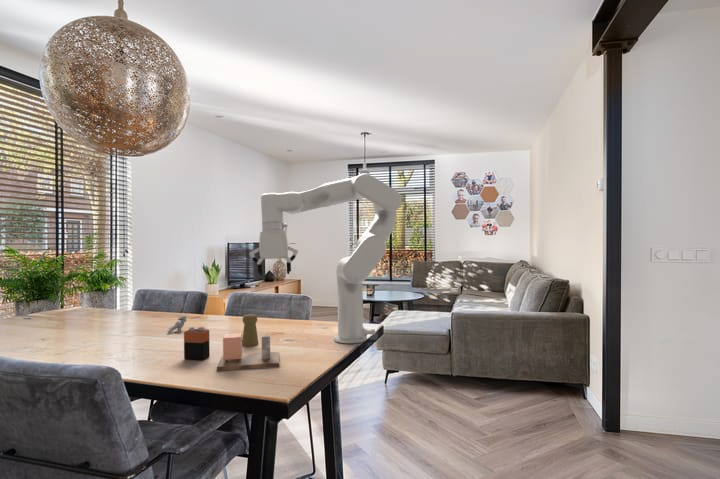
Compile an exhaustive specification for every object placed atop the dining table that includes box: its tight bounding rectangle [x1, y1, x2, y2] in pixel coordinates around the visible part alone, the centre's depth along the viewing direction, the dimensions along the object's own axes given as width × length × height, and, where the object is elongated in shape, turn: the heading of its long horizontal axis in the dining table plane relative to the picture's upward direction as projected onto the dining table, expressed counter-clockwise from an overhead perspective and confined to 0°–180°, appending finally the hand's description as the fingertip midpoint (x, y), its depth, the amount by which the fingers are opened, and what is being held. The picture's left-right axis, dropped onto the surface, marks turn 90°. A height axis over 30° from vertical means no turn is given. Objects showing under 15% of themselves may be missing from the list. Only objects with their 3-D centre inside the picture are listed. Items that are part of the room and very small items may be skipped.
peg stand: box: [216, 334, 280, 372], centre depth 128 cm, size 18×12×8 cm, turn 102°
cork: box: [242, 313, 259, 348], centre depth 151 cm, size 6×6×11 cm
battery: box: [183, 326, 211, 361], centre depth 134 cm, size 4×7×10 cm, turn 79°
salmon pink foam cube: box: [222, 332, 243, 360], centre depth 127 cm, size 5×5×7 cm
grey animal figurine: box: [167, 315, 188, 334], centre depth 173 cm, size 10×6×9 cm
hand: (274, 274), depth 150 cm, fingers open, 9 cm apart
